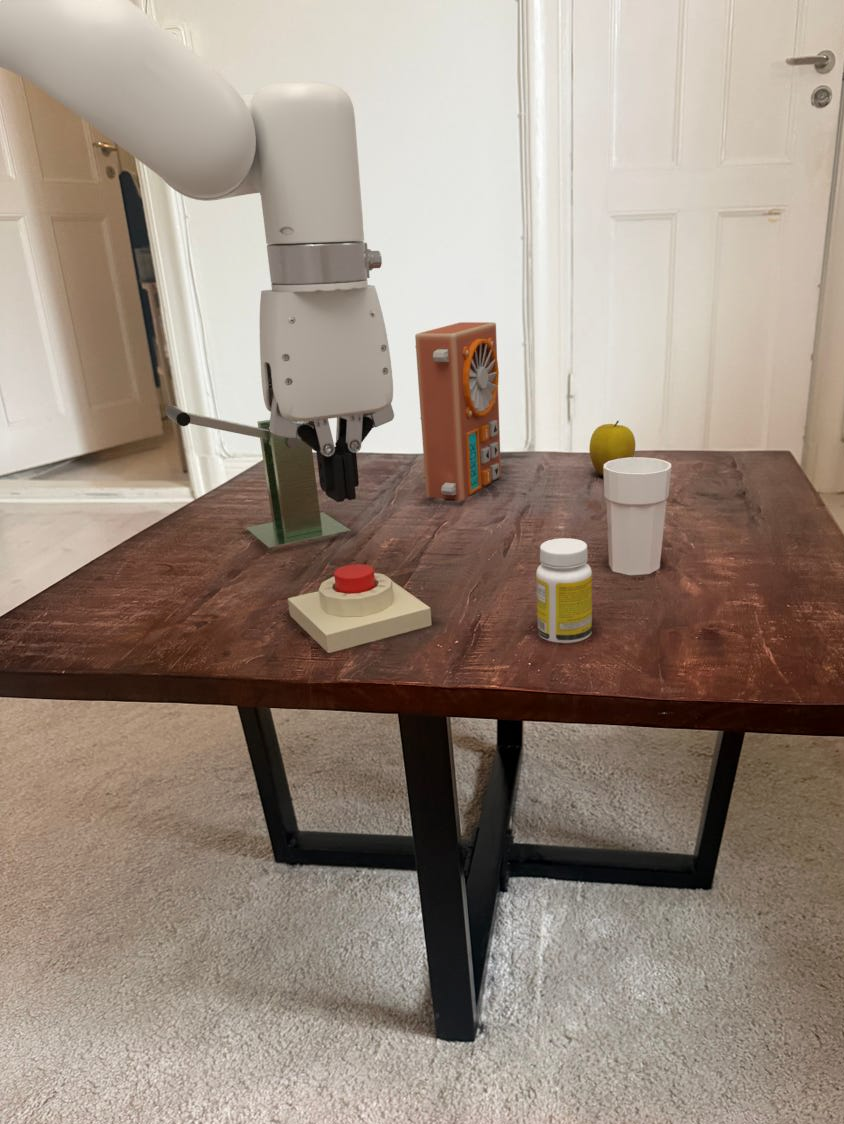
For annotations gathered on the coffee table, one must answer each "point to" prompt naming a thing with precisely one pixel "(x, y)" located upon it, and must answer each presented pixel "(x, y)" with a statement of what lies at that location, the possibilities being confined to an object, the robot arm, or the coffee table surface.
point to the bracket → (291, 493)
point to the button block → (358, 614)
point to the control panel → (459, 408)
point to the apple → (610, 445)
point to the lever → (215, 423)
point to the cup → (636, 512)
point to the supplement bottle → (564, 591)
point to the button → (354, 579)
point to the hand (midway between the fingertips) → (340, 496)
